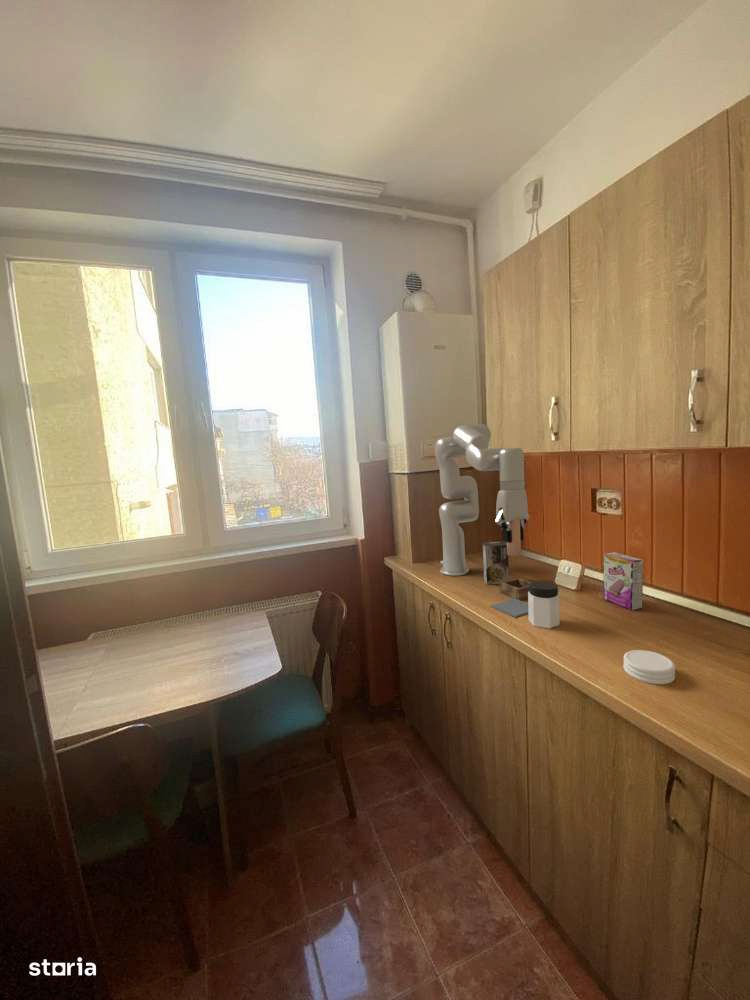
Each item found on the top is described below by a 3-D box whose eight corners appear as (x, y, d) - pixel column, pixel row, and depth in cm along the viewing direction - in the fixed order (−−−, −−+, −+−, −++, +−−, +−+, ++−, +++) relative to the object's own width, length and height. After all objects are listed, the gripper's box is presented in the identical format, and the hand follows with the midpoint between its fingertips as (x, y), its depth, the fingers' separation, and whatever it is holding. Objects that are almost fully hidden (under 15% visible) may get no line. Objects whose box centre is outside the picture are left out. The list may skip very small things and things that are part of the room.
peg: (504, 554, 135) (503, 516, 133) (513, 552, 137) (512, 514, 135) (513, 556, 131) (512, 517, 129) (523, 554, 133) (522, 515, 131)
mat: (490, 606, 139) (490, 605, 139) (514, 600, 143) (514, 598, 143) (514, 617, 129) (514, 615, 129) (539, 609, 133) (539, 608, 133)
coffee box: (506, 579, 166) (505, 540, 164) (509, 584, 160) (508, 544, 158) (483, 579, 167) (482, 541, 165) (486, 584, 161) (485, 545, 159)
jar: (563, 628, 119) (563, 589, 118) (535, 629, 120) (535, 590, 118) (551, 616, 128) (551, 579, 127) (525, 617, 129) (525, 581, 127)
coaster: (644, 687, 89) (644, 673, 89) (614, 664, 99) (614, 651, 99) (686, 683, 90) (686, 668, 90) (652, 660, 100) (652, 647, 99)
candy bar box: (602, 599, 139) (602, 553, 137) (613, 597, 140) (613, 551, 138) (631, 611, 128) (632, 561, 126) (643, 608, 130) (644, 559, 128)
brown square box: (499, 592, 151) (499, 582, 151) (518, 587, 155) (518, 577, 155) (518, 600, 143) (518, 589, 142) (538, 595, 147) (537, 584, 146)
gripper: (522, 483, 138) (523, 535, 140) (484, 487, 131) (485, 542, 133) (539, 484, 131) (540, 538, 133) (500, 489, 124) (502, 546, 126)
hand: (513, 540), depth 133 cm, fingers closed on peg, 4 cm apart
